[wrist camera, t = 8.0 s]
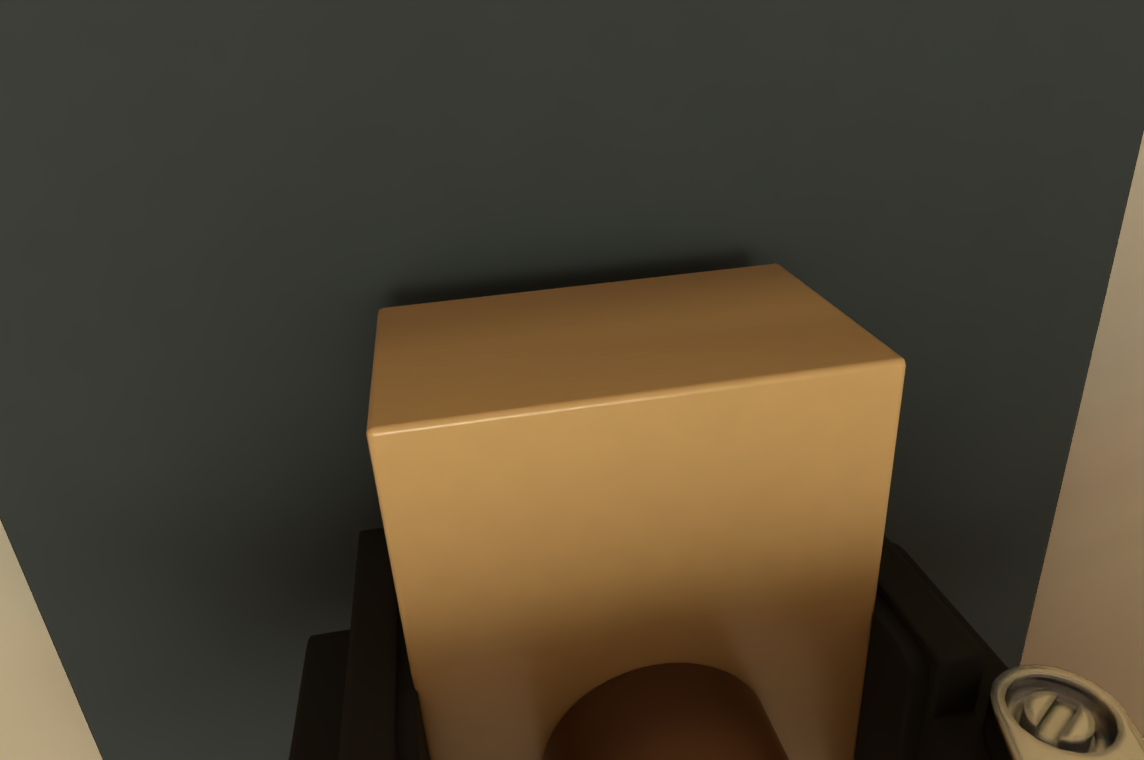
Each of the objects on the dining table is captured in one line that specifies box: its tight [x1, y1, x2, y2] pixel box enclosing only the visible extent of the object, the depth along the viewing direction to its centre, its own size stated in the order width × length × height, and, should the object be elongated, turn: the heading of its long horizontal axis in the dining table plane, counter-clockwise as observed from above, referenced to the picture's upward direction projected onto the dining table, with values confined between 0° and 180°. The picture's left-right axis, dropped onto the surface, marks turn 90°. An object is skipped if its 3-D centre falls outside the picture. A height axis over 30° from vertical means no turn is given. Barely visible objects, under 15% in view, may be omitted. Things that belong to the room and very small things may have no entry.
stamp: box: [366, 264, 906, 760], centre depth 10 cm, size 9×5×5 cm, turn 3°
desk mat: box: [0, 0, 1144, 760], centre depth 13 cm, size 20×16×1 cm
